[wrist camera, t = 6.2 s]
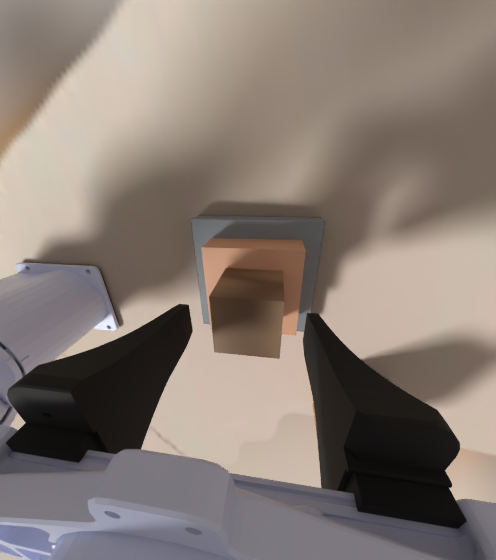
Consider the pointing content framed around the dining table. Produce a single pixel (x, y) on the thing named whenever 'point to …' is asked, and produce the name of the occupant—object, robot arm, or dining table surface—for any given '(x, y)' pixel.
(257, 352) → the walnut cube
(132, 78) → the dining table surface
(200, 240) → the slate tile
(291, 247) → the terracotta tile
